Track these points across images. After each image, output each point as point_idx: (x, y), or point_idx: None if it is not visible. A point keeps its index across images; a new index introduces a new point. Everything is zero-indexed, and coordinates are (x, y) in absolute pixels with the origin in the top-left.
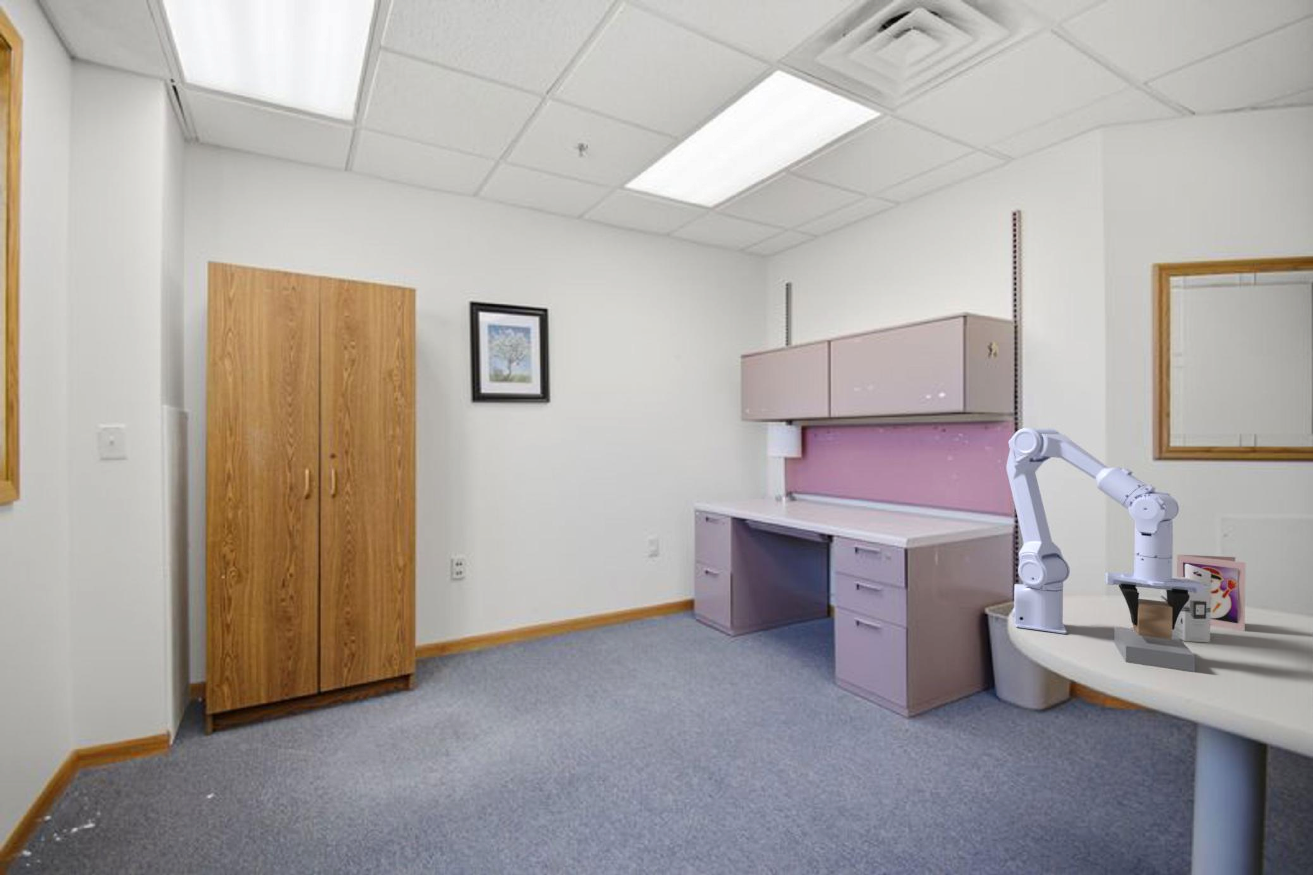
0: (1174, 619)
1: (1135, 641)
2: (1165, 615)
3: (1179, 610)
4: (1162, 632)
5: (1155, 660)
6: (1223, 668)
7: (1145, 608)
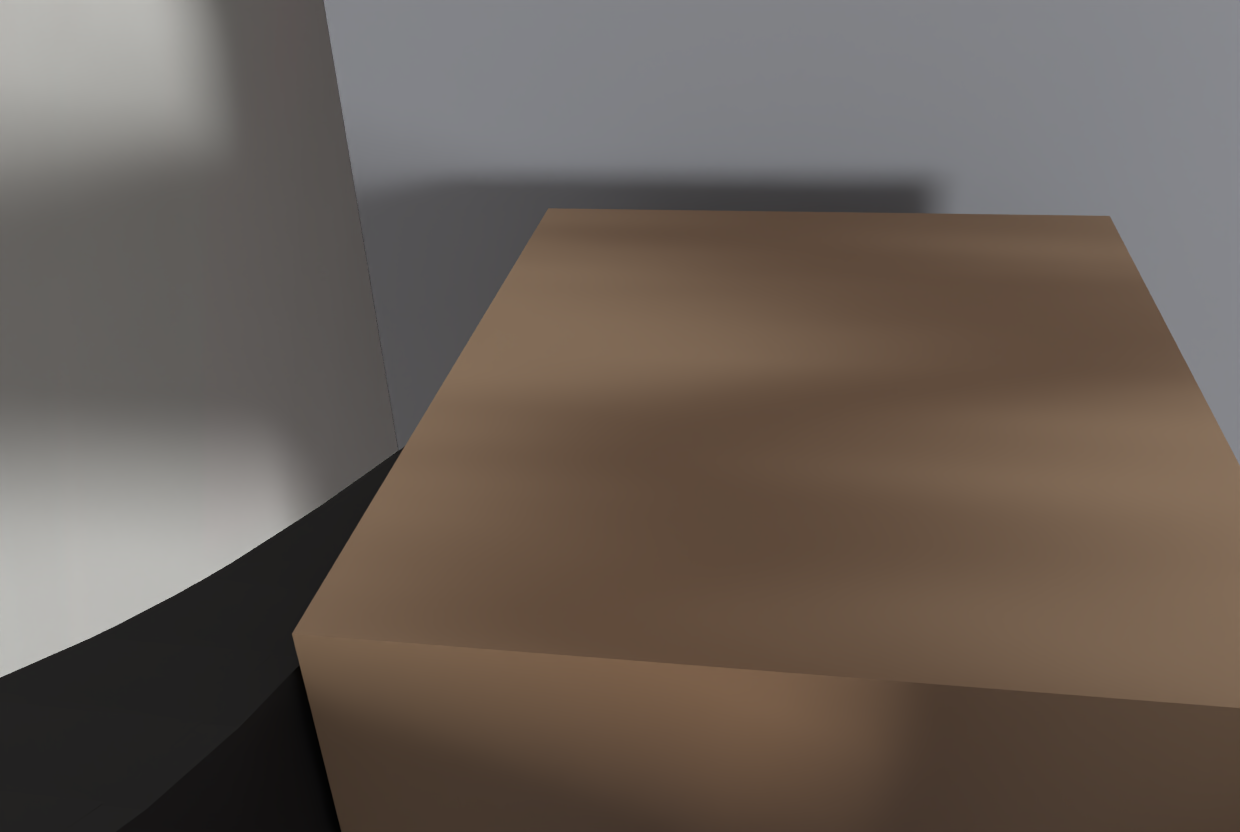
0: (379, 487)
1: (1124, 190)
2: (552, 471)
3: (152, 616)
4: (683, 260)
5: None
6: (95, 174)
7: (1097, 594)
